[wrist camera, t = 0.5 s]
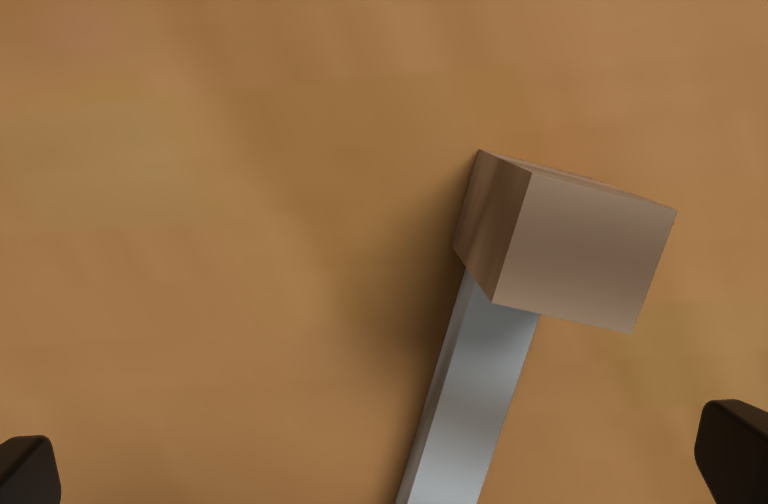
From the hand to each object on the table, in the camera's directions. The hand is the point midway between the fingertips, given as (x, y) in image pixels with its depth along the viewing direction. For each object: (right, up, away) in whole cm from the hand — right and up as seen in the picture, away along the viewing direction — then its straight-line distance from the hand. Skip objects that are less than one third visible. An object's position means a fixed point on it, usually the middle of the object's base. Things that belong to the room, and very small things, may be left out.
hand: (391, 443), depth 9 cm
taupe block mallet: (+3, -2, +15) cm, 15 cm away
